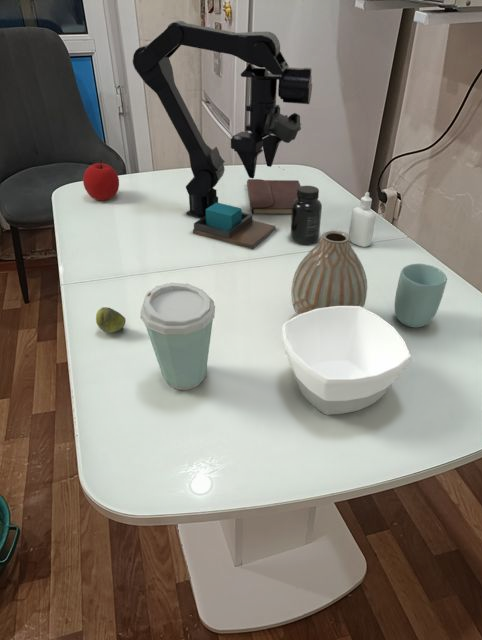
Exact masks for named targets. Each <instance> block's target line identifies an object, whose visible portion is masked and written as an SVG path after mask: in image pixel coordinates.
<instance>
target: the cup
mask: <svg viewBox="0 0 482 640" xmlns="http://www.w3.org/2000/svg"><path fill="white" fill-rule="evenodd" d="M447 280H448V276H447V274H446V273H445V272H444V271H443V270H441V268H438V267H436V266H434V265H430V264H426V263H412V264H411V263H410V264H408V265H406V266H404V267H403V268H402V269H401V270H400V273H399V278H398V282H397V286H396V290H395V297H394V303H393V305H394V314H395V317H396V318H397V319H398V321H399V322H400V323H401V324H402V325H404V326H406V327H409V328H421V327H425V326H428V324H430V323H431V322H432V320H433V319H434V318H435V316H436V314H437V312H438V311H439V307H440V305H441V302H442V298H443V295H444V292H445V289H446V285H447Z"/></svg>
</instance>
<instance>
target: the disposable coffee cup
mask: <svg viewBox="0 0 482 640" xmlns="http://www.w3.org/2000/svg"><path fill="white" fill-rule="evenodd" d="M142 302H143V303H142V304H141V305H142V306H141V309H140V319H141V321H142V322H143V324H144V326H145V328H146V331H147V334H148V337H149V340H150V343H151V345H152V348H153V351H154V355H155V357H156V360H157V363H158V366H159V369H160V371H161V375H162V377H163V379H164V380H165V382H166V383H167V385H168V386H169V387H171V388H173V389H175V390H179V391H180V390H181V391H183V390H184V391H186V390H187V391H189V390H191V389H194V388H197V387H199V386H200V385H201V383H202V382H204V380H205V378H206V375H207V367H208V361H209V360H208V359H209V352H210V346H211V345H210V344H211V337H212V328H213V321H214V319H215V315H216V314H215V313H216V305H215V301H214V299H212V298H211V297H210V296H209V294H207V292H206V291H204V290H203V289H202V288H199V287H197V286H194V285H192V284H189V283H180V282H169V283H168V282H167V283H164V284H160V285H156V286H154V287H153V288H152V289H151V290H149V291H148V292H147V293H146V294H145V296H144V298H143V301H142Z"/></svg>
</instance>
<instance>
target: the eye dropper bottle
mask: <svg viewBox="0 0 482 640" xmlns="http://www.w3.org/2000/svg"><path fill="white" fill-rule="evenodd" d="M372 201H373V199H372V197H370V192H369V191H366V192H365V194H364V196H362V197H361V198H360V202H359V206H356V207H353V209H352V210H351V211H352V212H351V218H350V224H349V230H348V235H349V237H350V243H352V244H354V245H356V246H359V247H362V248H365V247H366V248H367V247H369V246H370V245H372V241H373V236H374V230H375V224H376V220H377V219H376V218H377V215H376V213H375V211H374V210H373V209H371V208H372Z"/></svg>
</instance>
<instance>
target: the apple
mask: <svg viewBox="0 0 482 640" xmlns="http://www.w3.org/2000/svg"><path fill="white" fill-rule="evenodd" d="M82 183H83V187H84V189H85V191H86V193H87V195H88V196H90V197H91V198H92V199H94V200H97V201H108V200H110V199H112V198H113V197H115V196H116V195H117V193H118V191H119V188H120V179H119V175H118V173H117V171H116V170H115V169H114V168H113V167H112V166H111V165H110V164H107V163H105V162H104V163H103V159H102V158H100V162H96V163H92V164H91V165H89V166H88V167H87V168H86V170H85V171H84V174H83V178H82Z"/></svg>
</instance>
